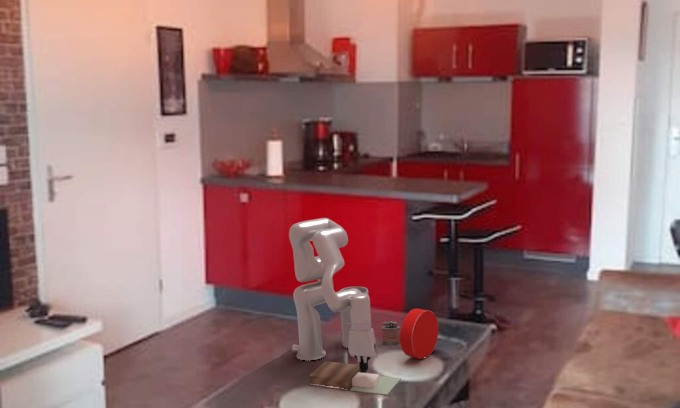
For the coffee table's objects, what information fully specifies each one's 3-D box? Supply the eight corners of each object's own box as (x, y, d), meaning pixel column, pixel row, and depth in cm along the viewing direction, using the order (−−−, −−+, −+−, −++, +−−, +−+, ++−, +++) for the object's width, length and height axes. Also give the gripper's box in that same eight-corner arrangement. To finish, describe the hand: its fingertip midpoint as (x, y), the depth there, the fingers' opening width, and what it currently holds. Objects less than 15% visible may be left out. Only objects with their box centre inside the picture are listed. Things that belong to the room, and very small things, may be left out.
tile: (351, 385, 281) (351, 379, 280) (358, 378, 287) (358, 372, 287) (374, 387, 277) (373, 381, 277) (380, 380, 284) (379, 374, 283)
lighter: (400, 341, 325) (399, 320, 323) (400, 344, 321) (399, 322, 320) (382, 342, 326) (381, 320, 324) (382, 345, 322) (381, 323, 321)
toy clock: (427, 347, 316) (425, 302, 313) (439, 350, 312) (437, 304, 309) (401, 363, 301) (398, 316, 298) (413, 365, 297) (410, 318, 294)
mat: (350, 390, 277) (349, 389, 277) (365, 375, 291) (365, 374, 291) (387, 395, 271) (387, 394, 271) (400, 379, 285) (400, 378, 285)
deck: (309, 385, 285) (309, 375, 284) (326, 370, 298) (325, 361, 297) (347, 390, 278) (346, 380, 277) (362, 374, 291) (362, 365, 291)
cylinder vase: (371, 339, 329) (368, 286, 325) (370, 350, 317) (367, 294, 313) (344, 340, 331) (340, 287, 327) (341, 350, 318) (337, 295, 314)
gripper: (339, 327, 279) (342, 373, 282) (376, 330, 273) (378, 377, 276) (347, 320, 285) (350, 365, 289) (383, 324, 279) (385, 369, 282)
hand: (364, 371), depth 282 cm, fingers closed
